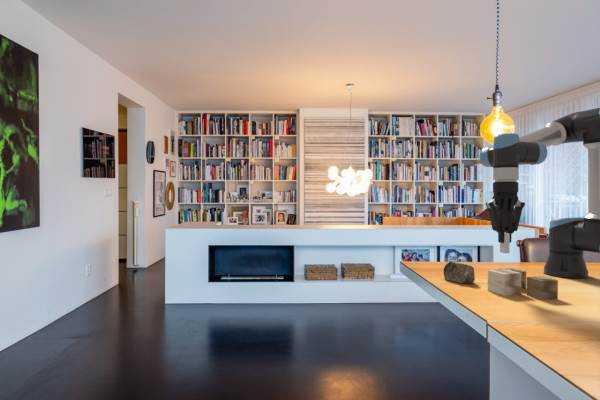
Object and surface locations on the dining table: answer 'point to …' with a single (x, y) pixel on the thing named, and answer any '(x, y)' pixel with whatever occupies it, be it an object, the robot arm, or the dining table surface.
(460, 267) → the stone
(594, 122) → the robot arm
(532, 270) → the dining table surface
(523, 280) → the marked block near
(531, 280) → the marked block left
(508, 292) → the plain block
